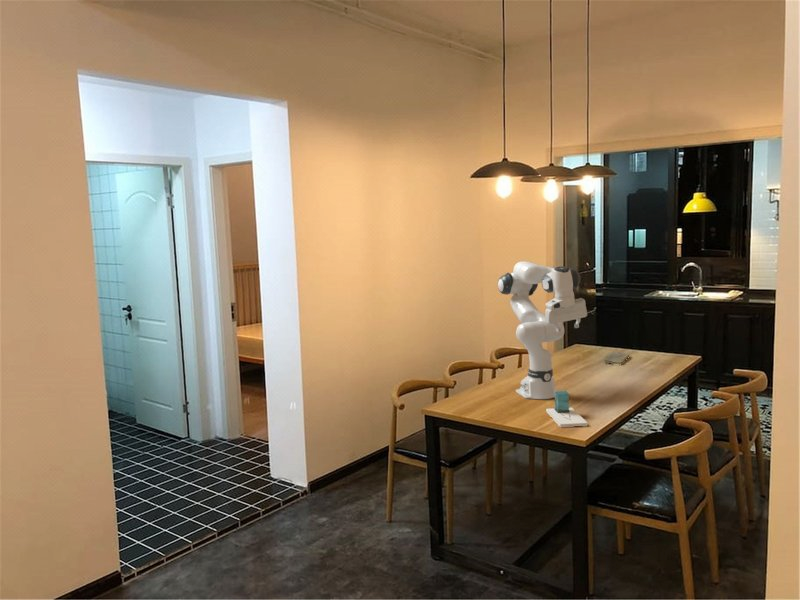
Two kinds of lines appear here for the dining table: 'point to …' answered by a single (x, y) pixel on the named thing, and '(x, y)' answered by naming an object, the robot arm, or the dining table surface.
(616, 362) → the stone slab
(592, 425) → the dining table surface
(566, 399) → the block
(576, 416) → the board
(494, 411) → the dining table surface
